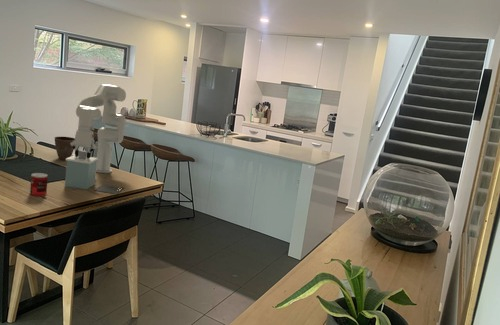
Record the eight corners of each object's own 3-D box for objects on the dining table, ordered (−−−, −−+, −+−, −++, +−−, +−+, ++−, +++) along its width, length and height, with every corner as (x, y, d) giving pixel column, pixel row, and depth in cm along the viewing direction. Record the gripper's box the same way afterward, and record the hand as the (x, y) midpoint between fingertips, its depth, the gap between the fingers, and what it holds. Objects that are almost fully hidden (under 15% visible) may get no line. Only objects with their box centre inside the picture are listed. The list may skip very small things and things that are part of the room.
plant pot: (69, 162, 284) (70, 141, 281) (49, 159, 284) (50, 138, 281) (78, 158, 299) (79, 138, 296) (59, 155, 299) (60, 135, 296)
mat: (102, 184, 244) (102, 184, 244) (124, 188, 245) (124, 187, 245) (94, 190, 230) (94, 190, 230) (117, 194, 231) (117, 193, 231)
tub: (73, 180, 242) (75, 156, 239) (94, 184, 243) (96, 159, 240) (64, 186, 229) (66, 160, 227) (86, 189, 230) (89, 163, 227)
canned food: (33, 191, 212) (35, 172, 210) (48, 193, 213) (50, 174, 211) (27, 195, 205) (28, 175, 203) (42, 197, 206) (44, 177, 204)
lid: (75, 157, 240) (76, 147, 239) (97, 161, 241) (98, 151, 240) (65, 161, 226) (66, 151, 225) (89, 165, 227) (90, 154, 226)
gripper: (101, 130, 234) (98, 158, 237) (72, 125, 233) (70, 154, 236) (97, 131, 227) (94, 161, 230) (67, 126, 226) (65, 156, 229)
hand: (82, 157), depth 233 cm, fingers open, 6 cm apart
